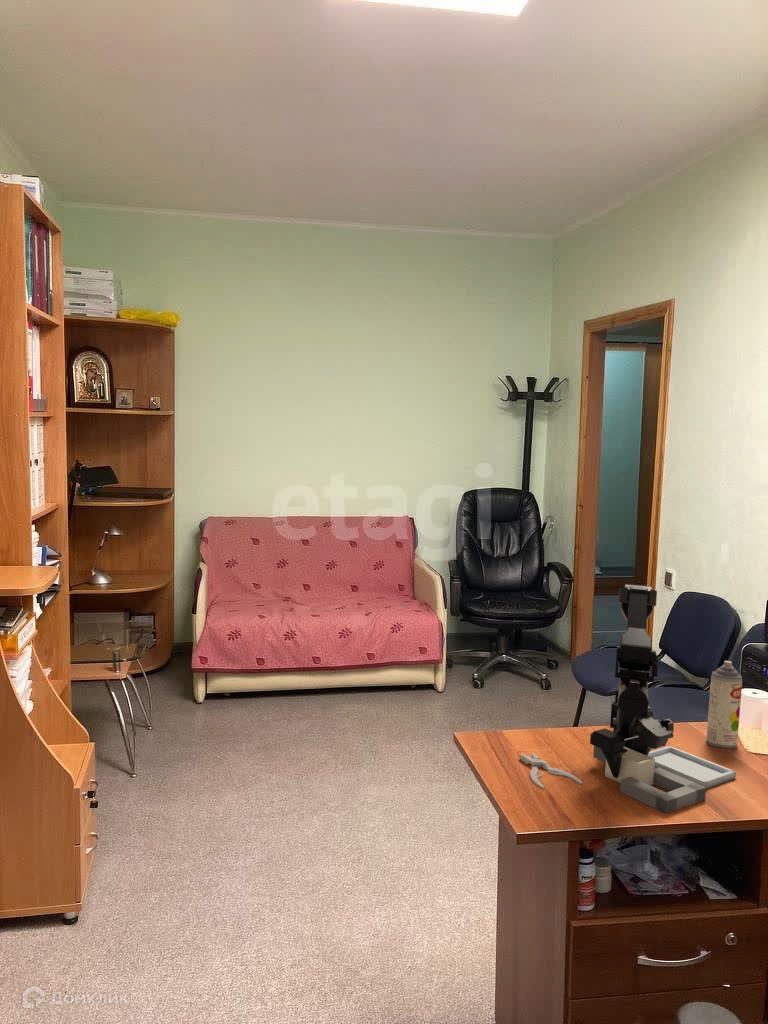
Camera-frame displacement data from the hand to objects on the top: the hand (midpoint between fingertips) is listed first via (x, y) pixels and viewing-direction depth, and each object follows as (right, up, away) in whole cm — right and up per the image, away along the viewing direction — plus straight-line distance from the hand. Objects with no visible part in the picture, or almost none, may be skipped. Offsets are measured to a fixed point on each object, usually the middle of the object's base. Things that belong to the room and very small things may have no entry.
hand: (627, 773), depth 169 cm
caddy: (-1, -1, +2) cm, 2 cm away
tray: (+15, -1, +7) cm, 16 cm away
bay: (+5, -2, -7) cm, 9 cm away
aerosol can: (+30, -1, +24) cm, 38 cm away
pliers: (-17, -1, +3) cm, 17 cm away
